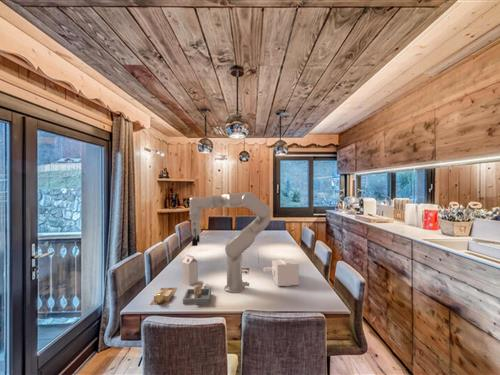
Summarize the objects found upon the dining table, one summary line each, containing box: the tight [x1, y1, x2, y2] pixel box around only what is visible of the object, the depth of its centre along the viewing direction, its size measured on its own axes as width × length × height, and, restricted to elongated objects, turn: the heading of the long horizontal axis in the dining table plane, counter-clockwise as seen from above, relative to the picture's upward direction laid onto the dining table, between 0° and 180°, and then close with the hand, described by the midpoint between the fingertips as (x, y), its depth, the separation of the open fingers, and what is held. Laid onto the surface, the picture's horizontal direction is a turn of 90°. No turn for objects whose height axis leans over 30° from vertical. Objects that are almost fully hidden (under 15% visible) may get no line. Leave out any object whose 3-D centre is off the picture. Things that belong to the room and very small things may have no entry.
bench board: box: [149, 287, 178, 306], centre depth 150 cm, size 10×23×1 cm, turn 4°
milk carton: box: [181, 254, 199, 286], centre depth 171 cm, size 7×7×19 cm
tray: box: [182, 287, 212, 306], centre depth 147 cm, size 14×14×4 cm
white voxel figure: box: [263, 258, 300, 287], centre depth 179 cm, size 15×25×28 cm
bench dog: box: [156, 292, 164, 306], centre depth 141 cm, size 4×4×5 cm
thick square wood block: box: [153, 289, 174, 301], centre depth 147 cm, size 8×8×3 cm
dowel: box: [193, 284, 202, 298], centre depth 147 cm, size 4×4×7 cm
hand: (195, 243), depth 163 cm, fingers open, 9 cm apart
